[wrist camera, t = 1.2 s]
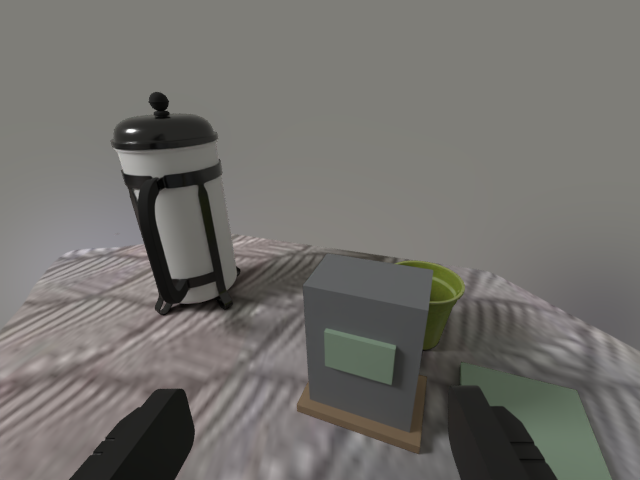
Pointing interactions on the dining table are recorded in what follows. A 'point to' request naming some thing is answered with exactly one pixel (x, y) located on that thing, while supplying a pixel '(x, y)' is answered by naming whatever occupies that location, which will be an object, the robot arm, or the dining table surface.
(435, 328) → the plant pot
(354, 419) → the charcoal unit
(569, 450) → the green mat
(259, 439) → the dining table surface
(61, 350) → the dining table surface
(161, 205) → the coffee press
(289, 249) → the dining table surface
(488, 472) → the robot arm
